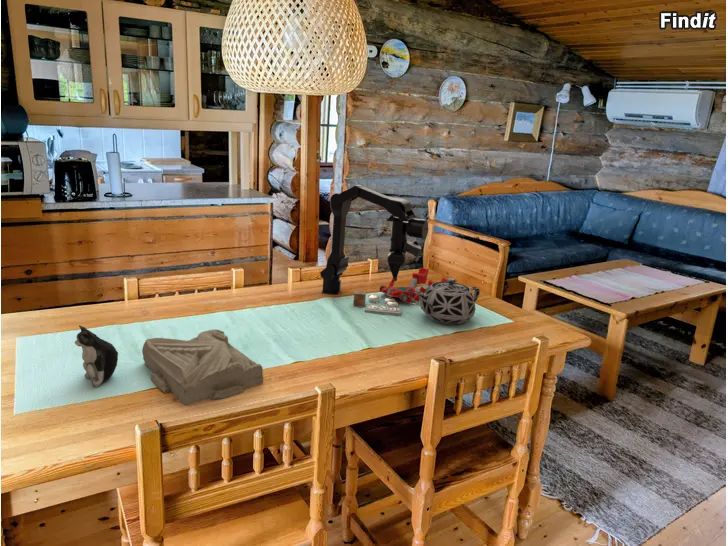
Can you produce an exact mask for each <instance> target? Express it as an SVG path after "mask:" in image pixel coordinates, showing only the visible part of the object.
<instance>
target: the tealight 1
mask: <svg viewBox="0 0 728 546" xmlns="http://www.w3.org/2000/svg"><path fill="white" fill-rule="evenodd" d="M369 301H370V303H372V302H375V303H374V304H377V303H376V302H378V303H379V302H380V296H379V295H375V294H372V295H369V297H368V302H369Z"/></svg>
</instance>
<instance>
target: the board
mask: <svg viewBox="0 0 728 546" xmlns="http://www.w3.org/2000/svg"><path fill="white" fill-rule="evenodd" d="M402 309H403V308H402V307H399V306H398V307H389V306H387V305H379V304H369V303H367V304H366V305H365V310H364V312H365V313H370V312H372V314H380V313H381V314H382V315H389V314H390V315H391V316H392V315H393V316H399V315H400V317H402ZM381 314H380V315H381ZM390 315H389V316H390Z"/></svg>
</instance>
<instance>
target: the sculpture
mask: <svg viewBox="0 0 728 546" xmlns="http://www.w3.org/2000/svg"><path fill="white" fill-rule="evenodd" d="M141 352H142V360H143V361H144V364H145V366H147V368H149V369H150V370H151V371H152V373H151V374H150V375H151V377H150V381H151V382H152V383H153V384H154V386H156V388H157V389H158V390H160V391H161V392H163V393H164V394H166V393H169V392H171V393H172V394H173V396H174V397H175V398H173V401H177V400H178V401H179V402H180V403H181V404H183V405H185V406H188V405H191V404H196V403H199V402H201V401H204V400H206V401H207V400H213V401H216V400H223V399H225V398H229V397H233V396H236V395H239V394H243V393H244V392H245V389H246V388H247V389H249V388H251V387H254V386H258V385H262V384H263V383H264V374H263V373H264V372H263V366H262V364H260V363H256V362H255V361H254V360H252V359H251V358H250V357H248V356H247V355H245V354H244V353H243V352H241V351H240V350H238V349H237V348H236V347H234V346H233V345H231V344H230V343H229V338H228V336H227V335H225V332H224V331H223V330H220V329H215V328H213V329H208V330H205V331H201V332H200V333H198V334H197V336H196V337H192V338H191V339H190V340H185V339H184V340H183V339H177V338H165V337H151V338H147V339H146V340H145V342H144V343H143V346H142V349H141Z"/></svg>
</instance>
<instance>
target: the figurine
mask: <svg viewBox="0 0 728 546" xmlns="http://www.w3.org/2000/svg"><path fill="white" fill-rule="evenodd" d="M78 327H79V329H80V332H78V333H77V334H76V340H75V341H74V344H75V345H76V346H78V347H81V349H82V353H81V358H82V360H83V362H82V367H83V369H84V370H85V373H84V377H85V378H86V379H90V380H91V381H92V386H93V387H94V388H97V387H99V386H101V384H103V383H104V382H106V381H108V380H109V379H110V378H111V377H112V376H113V374H114V373H115V370H116V368H117V366H118V360H119V352H118V351H117V348H116V347H115V346H114V345H113V343H110V342H108V341H107V340H104V339H102V338H100V336H98V335H97V334H96V333H94V332H92V331H91V330H89V329H87V328H86V327H85V326H82V325H80V324H79V325H78Z"/></svg>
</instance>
